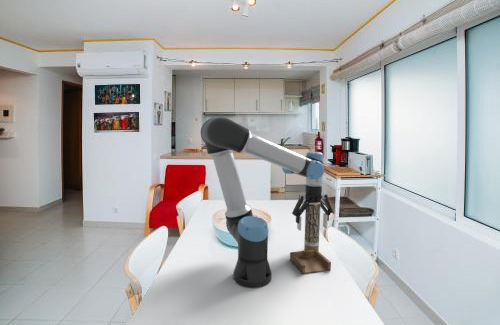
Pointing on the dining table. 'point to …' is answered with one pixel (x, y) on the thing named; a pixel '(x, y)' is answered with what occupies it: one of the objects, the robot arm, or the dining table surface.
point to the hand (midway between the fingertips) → (312, 228)
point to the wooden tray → (310, 261)
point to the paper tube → (312, 226)
